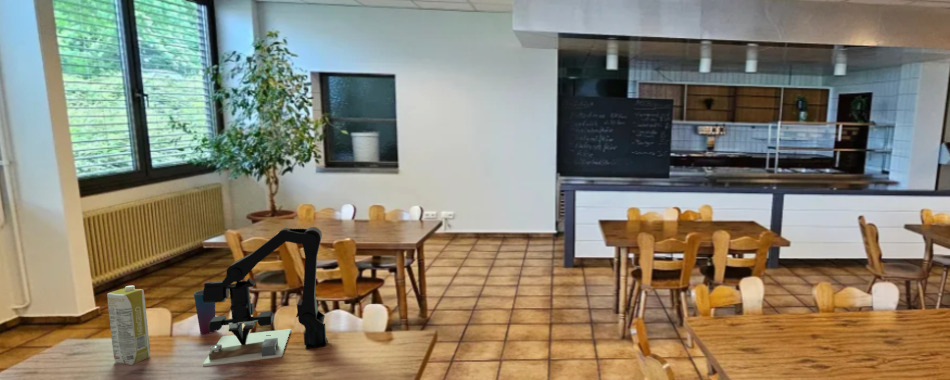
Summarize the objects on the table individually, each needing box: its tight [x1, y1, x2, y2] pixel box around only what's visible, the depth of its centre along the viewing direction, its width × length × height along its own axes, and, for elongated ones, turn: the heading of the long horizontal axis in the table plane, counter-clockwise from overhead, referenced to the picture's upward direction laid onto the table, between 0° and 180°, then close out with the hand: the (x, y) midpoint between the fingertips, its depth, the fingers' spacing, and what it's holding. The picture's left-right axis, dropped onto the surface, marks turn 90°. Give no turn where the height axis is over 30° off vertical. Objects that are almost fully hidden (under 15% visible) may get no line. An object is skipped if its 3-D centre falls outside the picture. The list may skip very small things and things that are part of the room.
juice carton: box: [107, 285, 151, 366], centre depth 158 cm, size 9×8×24 cm
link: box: [208, 341, 278, 360], centre depth 160 cm, size 20×4×2 cm, turn 109°
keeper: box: [261, 338, 278, 357], centre depth 160 cm, size 4×6×3 cm, turn 13°
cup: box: [193, 288, 216, 335], centre depth 180 cm, size 7×7×15 cm
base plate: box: [202, 328, 292, 367], centre depth 166 cm, size 23×22×4 cm
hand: (244, 345), depth 162 cm, fingers closed
